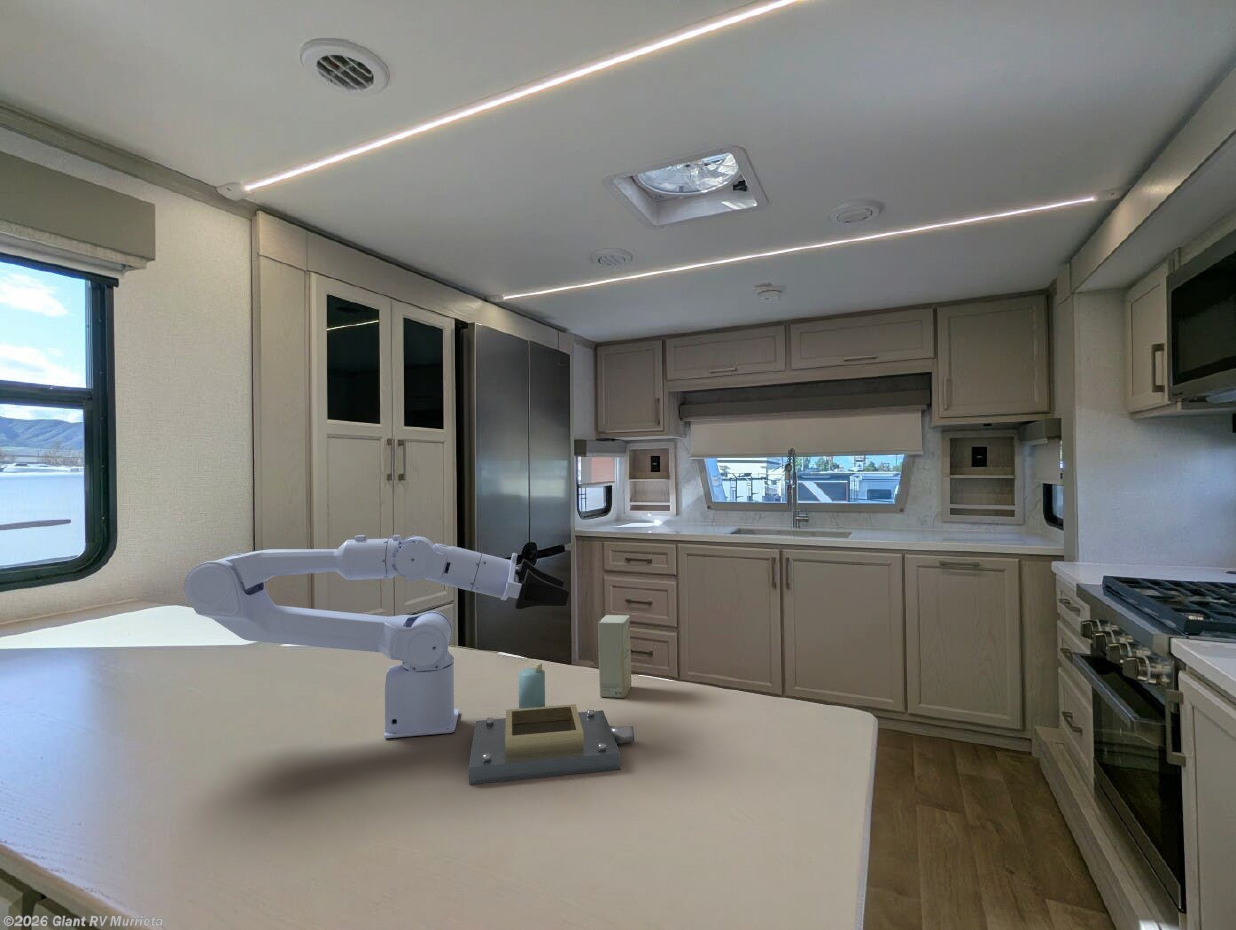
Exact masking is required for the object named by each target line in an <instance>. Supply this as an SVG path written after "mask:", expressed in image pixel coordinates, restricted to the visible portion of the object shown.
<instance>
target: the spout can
mask: <svg viewBox="0 0 1236 930" xmlns="http://www.w3.org/2000/svg"><path fill="white" fill-rule="evenodd" d="M534 665H535V668H525V669H521V670H520V671H519V672H518V709H521V708H534V707H546V675H545V674H546V671H545V670H544V669H543V663H541V662H538V663H535V664H534Z"/></svg>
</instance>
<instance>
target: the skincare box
mask: <svg viewBox="0 0 1236 930" xmlns="http://www.w3.org/2000/svg"><path fill="white" fill-rule="evenodd" d="M630 618H631V617H630V615H628V614H627V615H626V614H623V615H622V614H617V615H616V614H605V615H604V616H603V617H602V618H601V619H600V620H599V621H598V622H597V623H598V624H597V626H598V627H597V629H598V631H597V632H598V671H599V673H598V678H599V697H605V698H616V699H617V698H618V699H619V698H623V699H625V698H626V697H627V695H628V693H629V691H630V689H631V687H632V654H631V653H632V651H631V650H632V649H631V621H630Z"/></svg>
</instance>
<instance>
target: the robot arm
mask: <svg viewBox="0 0 1236 930" xmlns="http://www.w3.org/2000/svg"><path fill="white" fill-rule="evenodd" d="M517 559H518V553H516V552H513V553H512V554H511V558H510V559H507V558H503V557H498V556H495V555H490V554H485V553H482V552H480V551H479V552H478V551H475V550H471V549H466V548H462V547H458V546H455V545H452V546H451V545H450V546H448V545H446V544H444V543H434V542H433V541H432V540H430V538H427V537H424V536H421V535H420V536H417V535H416V534H414V535H410V536H408V537H406V538H405V539H403V540H402V538H401V535H400V534H393V535H392V537H391V538H367V535H366V534H361V535H358V534H357V535H355V536H354V539H347V540H345V541H344V542H343V543H342V544H341V545H340V546H339V547H338V548H332V549H331V548H329V549H328V548H319V549H318V548H317V549H314V548H312V549H311V548H310V549H309V548H308V549H307V548H294V549H293V548H291V549H290V548H282V549H279V548H278V549H277V548H275V549H274V548H273V549H271V548H270V549H263V550H256V551H250V552H246V553H233V554H229V555H227V556H225V557H223V558H220V559H216V560H212V561H211V560H209V561H205V562H201V563H199V564H197V565H195V566H194V567H193V568H192V569H191V570H190V571H189V572H188V573H187V575H186V577H185V579H184V582H183V584H184V585H183V589H184V594H185V596H186V599H187V600H188V602H189V603H190V605H191V607H192V608H193V610H194V612H195V613H196V614H197V615H199V616H202V617H204V618H205V617H206V618H209V619H211V620H213V621H215V622H216V623H217V624H219V625H221V626H222V627H224V628H225V629H226V630H229V631H230V632H231V633H233V634H235V635H236V636H237V637H239V638H240V639H242V640H245V641H250V642H257V643H258V642H260V643H272V644H278V645H279V644H280V645H291V646H292V645H293V646H305V647H314V648H315V647H317V648H326V649H327V648H328V649H339V650H348V651H349V650H350V651H360V652H370V653H380V654H382V655H384V656H385V657H387V658H388V659H390V660H393V661H400V662H401V664H398V665H391V666H389V667H388V668H387V672H386V676H385V683H384V685H385V686H384V734H383V738H384V739H392V738H393V739H394V738H404V737H414V736H415V737H416V736H428V735H429V736H430V735H439V734H440V735H441V734H450V733H454V732H456V731H455V730H456V727H457V723H458V719H459V715H460V709H458V708H455V667H454V666H455V664H454V660H455V659H454V658H455V657H454V656H453V655H452V653H450V652H449V643H450V641H451V640H452V636H453V626H452V622H451V621H450V619H449V618H448V617H447V616H446V615H445V614H443V612H440V611H436V610H435V611H434V610H428V611H425V612H423V613H419V614H415V615H413V614H399V615H394V616H393V615H392V616H385V615H375V614H365V613H364V614H363V613H355V612H347V611H345V612H344V611H334V610H326V609H317V608H316V609H315V608H305V607H297V606H285V605H277V604H275V602H274V601H273V600H272V597H271V596H270V595H269V593H268V592H267V588H266V583H265V582H266V581H268V580H270V579H272V578H275V577H276V576H280V577H281V576H290V575H293V576H294V575H306V574H319V573H330V572H333V573H334V572H335V573H337V574H339V575H340V576H341V578H343V579H345V580H347V581H355V580H377V579H379V580H381V579H393V578H394V577H395V576H398V575H399V576H401V577H403V578H404V579H405V580H406V581H407V582H417V581H420V580H423V579H424V580H426V581H427V580H428V581H432V582H435V583H436V582H437V583H440V584H441V585H444V586H447V587H448V586H449V587H453V588H457V589H460V590H461V589H462V590H466V591H469V592H474V593H478V594H481V595H487V596H492V597H496V598H499V599H500V600H502V601H506V600H507V599H508V598H513V599H516V602H515V604H514V608H515V609H516V610H524V609H527V608H532V607H539V606H540V607H541V606H544V607H564V606H567V603H568V598H569V595H570V591H568V590H567V589H565V588H563V587H564V582H565V581H563V580H562V579H560V578H558V577H557V576H554V575H551V574H549V573H547V572H545V571H542V570H541V569H539V568H537V567H536V566H534V565H533V564H532V563H531V562H530V561H528V560H527V559H524V558H523V559H522V561H521V564H520V568H519V566H517Z"/></svg>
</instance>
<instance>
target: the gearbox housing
mask: <svg viewBox="0 0 1236 930" xmlns="http://www.w3.org/2000/svg"><path fill="white" fill-rule="evenodd" d="M634 742H635V729H634V726H633V725H629V726H628V725H627V726H614V727H611V726H610V725H609V722H608V720H607V716H606V714H605V711H604V710H594V709H587V711H579V712H578V708H577V704H575V703H573V704H561V705H550V706H549V705H548V706H546V705H545V707H534V708H521V709H519V708H511V709H510V708H509V709H505V718H504V717H503V718H493V717H487V718H486V719H480V720H475V722H474V730H473V737H472V744H471V749H470V755H469V756H470V757H469V762H468V785H469V786H471V785H480V784H489V783H498V782H499V783H500V782H508V781H509V782H510V781H518V780H521V781H522V780H529V779H538V778H539V779H540V778H541V779H542V778H549V777H558V776H559V777H562V776H570V775H580V774H590V773H599V772H611V771H619V770H620V771H621V752H620V749H619V747H618V744H627V743H629V744H630V743H634Z"/></svg>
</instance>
